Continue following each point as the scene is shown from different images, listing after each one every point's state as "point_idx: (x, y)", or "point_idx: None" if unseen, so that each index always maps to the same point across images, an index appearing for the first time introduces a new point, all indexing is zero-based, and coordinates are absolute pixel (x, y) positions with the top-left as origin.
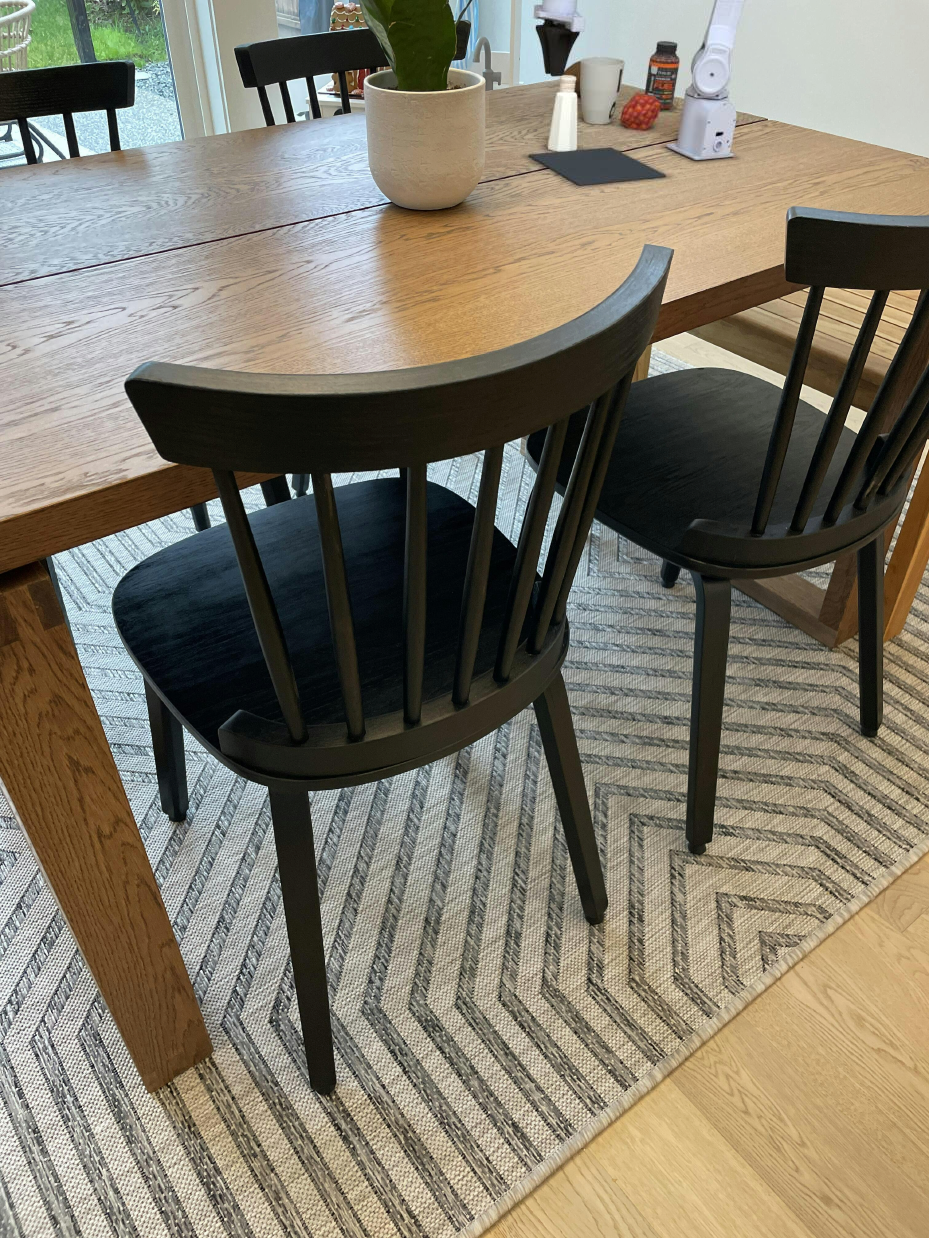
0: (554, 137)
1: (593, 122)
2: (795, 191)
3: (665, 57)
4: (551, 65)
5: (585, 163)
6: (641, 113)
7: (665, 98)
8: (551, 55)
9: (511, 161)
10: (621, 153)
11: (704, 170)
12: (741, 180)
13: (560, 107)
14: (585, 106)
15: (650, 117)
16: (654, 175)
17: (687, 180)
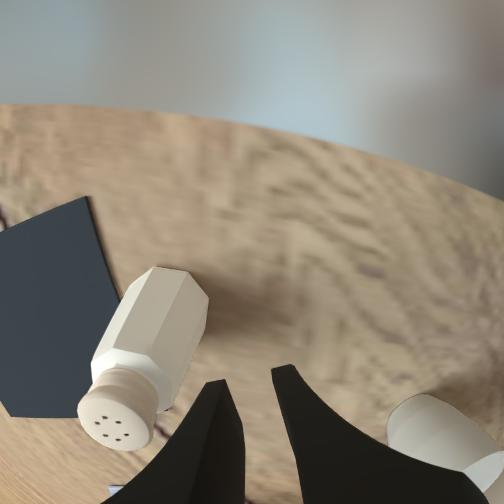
0: (134, 289)
1: (396, 411)
2: (21, 493)
3: None
4: (191, 409)
5: (30, 318)
6: None
7: None
8: (177, 445)
9: (51, 145)
10: None
11: (65, 472)
12: (37, 480)
13: (105, 337)
14: (421, 413)
15: None
16: (2, 401)
17: (10, 431)
